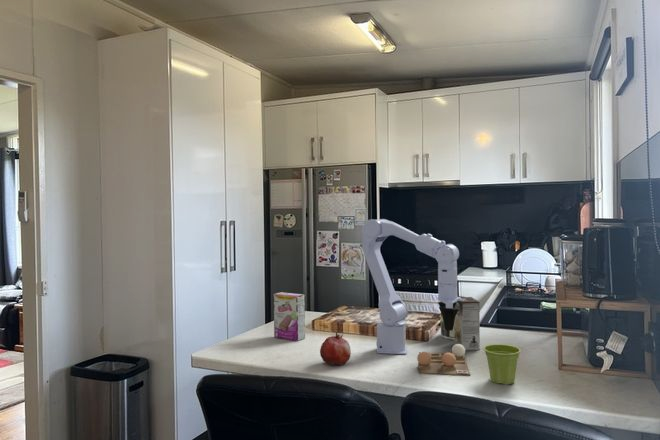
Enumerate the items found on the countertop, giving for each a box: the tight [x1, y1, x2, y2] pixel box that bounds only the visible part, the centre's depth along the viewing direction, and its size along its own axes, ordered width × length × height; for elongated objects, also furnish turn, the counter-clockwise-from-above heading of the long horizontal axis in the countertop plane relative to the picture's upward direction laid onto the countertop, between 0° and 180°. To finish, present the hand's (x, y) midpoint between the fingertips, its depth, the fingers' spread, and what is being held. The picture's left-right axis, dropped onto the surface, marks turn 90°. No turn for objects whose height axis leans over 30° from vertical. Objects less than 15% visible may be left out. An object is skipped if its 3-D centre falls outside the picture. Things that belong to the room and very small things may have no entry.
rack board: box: [417, 351, 471, 377], centre depth 146 cm, size 14×20×1 cm
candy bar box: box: [273, 291, 306, 342], centre depth 180 cm, size 11×5×16 cm, turn 58°
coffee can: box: [440, 295, 464, 341], centre depth 179 cm, size 10×10×14 cm
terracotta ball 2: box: [442, 352, 456, 367], centre depth 141 cm, size 4×4×4 cm
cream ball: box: [451, 343, 466, 357], centre depth 150 cm, size 4×4×4 cm
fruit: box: [319, 331, 352, 367], centre depth 148 cm, size 9×10×10 cm
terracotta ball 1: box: [417, 351, 431, 366], centre depth 143 cm, size 4×4×4 cm
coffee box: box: [454, 296, 481, 351], centre depth 165 cm, size 9×6×16 cm
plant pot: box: [483, 343, 522, 385], centre depth 131 cm, size 9×9×9 cm
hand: (448, 327), depth 151 cm, fingers open, 7 cm apart
